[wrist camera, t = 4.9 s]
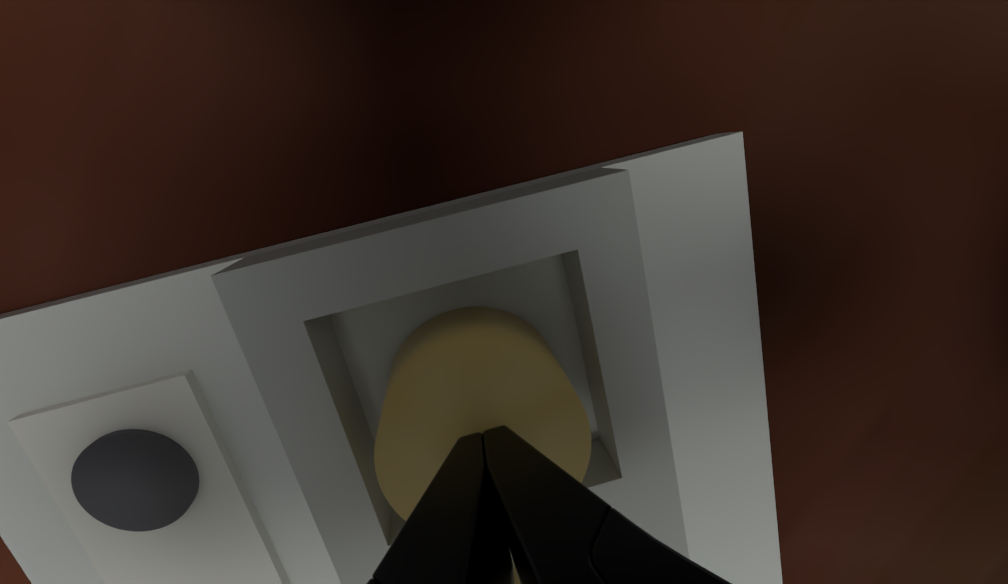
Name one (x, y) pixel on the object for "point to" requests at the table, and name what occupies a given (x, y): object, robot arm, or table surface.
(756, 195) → the table surface
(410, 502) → the button
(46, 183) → the table surface
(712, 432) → the board
